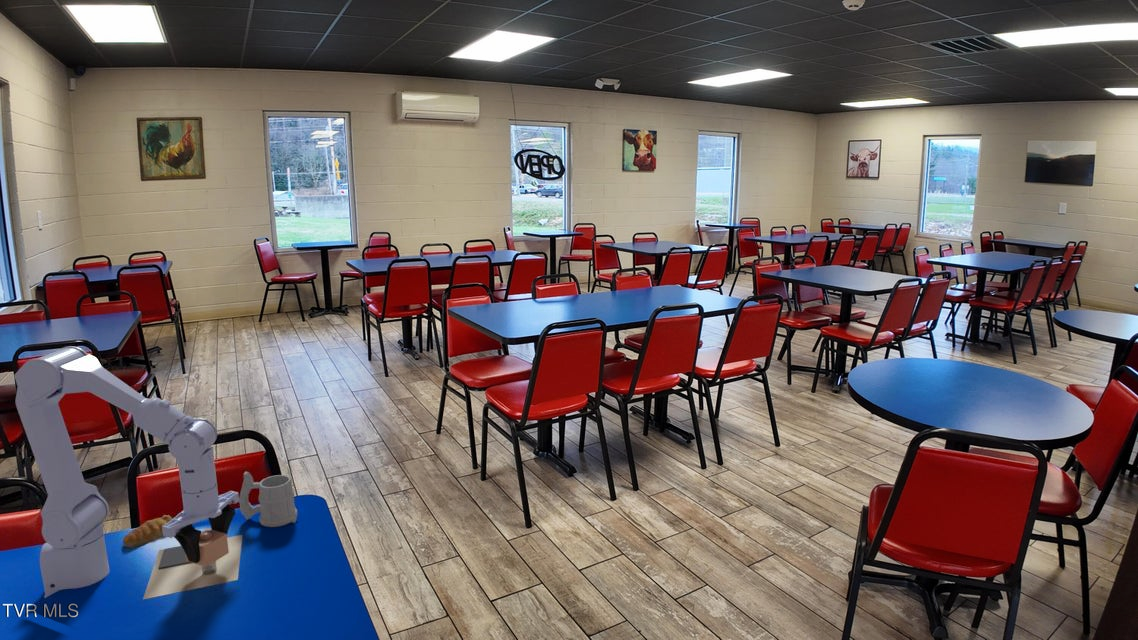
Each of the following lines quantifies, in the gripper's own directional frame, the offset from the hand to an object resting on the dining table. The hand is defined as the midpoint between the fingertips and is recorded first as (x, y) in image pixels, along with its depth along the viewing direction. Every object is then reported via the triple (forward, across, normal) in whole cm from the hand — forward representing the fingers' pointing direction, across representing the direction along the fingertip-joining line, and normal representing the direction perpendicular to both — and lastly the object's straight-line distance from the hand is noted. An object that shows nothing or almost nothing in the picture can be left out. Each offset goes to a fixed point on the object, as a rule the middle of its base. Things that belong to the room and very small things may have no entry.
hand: (207, 553), depth 124 cm
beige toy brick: (+1, 0, 0) cm, 1 cm away
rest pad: (+5, +2, +10) cm, 11 cm away
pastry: (+5, +6, +23) cm, 24 cm away
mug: (+5, +19, +5) cm, 20 cm away
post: (+5, 0, 0) cm, 5 cm away
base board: (+5, +1, +4) cm, 6 cm away
